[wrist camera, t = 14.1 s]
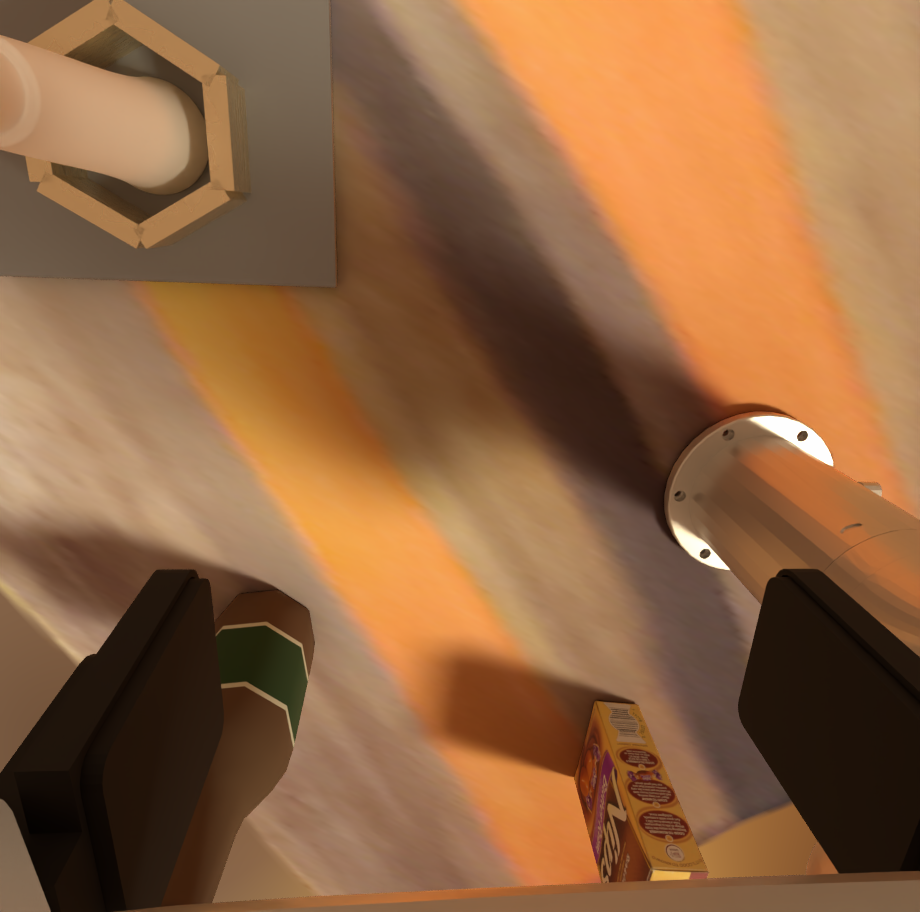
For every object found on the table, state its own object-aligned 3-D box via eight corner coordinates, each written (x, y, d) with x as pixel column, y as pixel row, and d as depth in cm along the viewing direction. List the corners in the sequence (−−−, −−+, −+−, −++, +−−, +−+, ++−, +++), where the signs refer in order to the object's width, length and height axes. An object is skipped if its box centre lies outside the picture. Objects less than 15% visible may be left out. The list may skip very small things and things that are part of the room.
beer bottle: (194, 611, 49) (16, 946, 27) (284, 568, 49) (176, 875, 26) (251, 684, 52) (132, 1042, 30) (336, 644, 51) (280, 981, 29)
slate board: (330, -11, 36) (328, -17, 35) (337, 285, 42) (335, 287, 41) (-53, -39, 34) (-66, -46, 33) (8, 274, 40) (-2, 275, 39)
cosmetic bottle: (232, 141, 37) (19, 58, 17) (165, 217, 39) (-112, 226, 18) (146, 51, 36) (-213, -164, 15) (77, 134, 37) (-342, 39, 16)
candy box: (589, 698, 55) (652, 868, 41) (638, 701, 56) (717, 870, 41) (568, 778, 58) (620, 963, 44) (615, 780, 59) (681, 963, 44)
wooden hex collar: (240, 23, 35) (220, 2, 32) (255, 248, 40) (239, 252, 36) (39, 10, 35) (-5, -14, 31) (76, 241, 39) (41, 245, 35)
